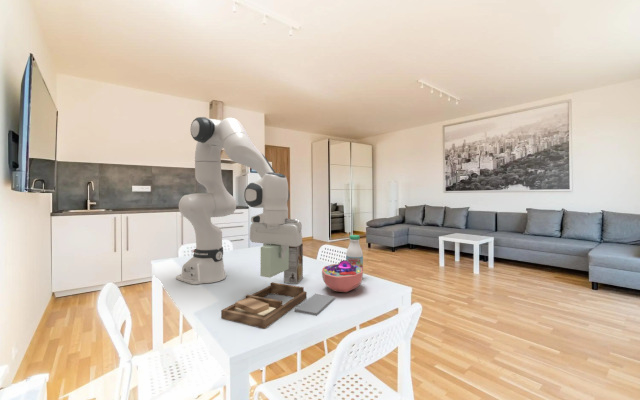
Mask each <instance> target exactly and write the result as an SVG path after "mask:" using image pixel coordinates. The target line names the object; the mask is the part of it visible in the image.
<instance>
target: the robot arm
mask: <svg viewBox="0 0 640 400" xmlns="http://www.w3.org/2000/svg"><path fill="white" fill-rule="evenodd" d="M190 135H191V137H192V139H193V140H194V141H196V146H195V154H194V178H195V180H196V182H197V183H199V184H200V185H201V186H203V187H204V188H205V189H206V192H207V193H205V192H202V193H195V192H194V193H190V194H185V195H183V196H182V197H181V198H180V200H179V202H178V211H179V212H180V214H181V215H182V216H183V218H185V219H187V220H188V221H189V223H191V225H192V226H193V230H194V233H195V246H196V247H195V248H194V249H191V252H192V253H193V254H192V257H191V258H189V260H187V261H186V262H184V263H183V265H182V268H181V274H178V275H177V276H175V279H176V280H178V281H181V282H184V283H187V284H189V285H193V286H194V285H200V284H211V283H217V282H220V281H222V280H225V279H226V278H227V275H226V270H225V265H224V258H223V257H224V256H223V255H224V247H223V232H222V229H221V228H220V227H219V226H217V225H215V224H213V222H212V220H211V218H220V217H222V218H223V217H227V216H230V215H233V213H234V212H235V211H236V210H237V209H236V208H237V199H235V197H234V196H233V195H232V194H231V193H229V192H228V190H227V188H226V187H225V185H224V181H223V177H222V159H221V158H222V157H221V156H222V155H221V151H222V150H224V152H225V154H226V155H227V157H228V158H229V159H230V160H231V161H232V162H234V163H237V164H238V165H242V166H245V167H247V168H250V169H252V170H254V171H255V172H256V173H257V174H258V175H259V177H260V179H258V180H256V181H254V182H249V184H247V186H245V187H246V188H245V189H244V200H245V203H246V204H247V205H248V206H249V207H250V208H254V209H262V213H260V214H256V215H252V216H251V218H250V222H251V224H250V228H249V240H250V242H251V243H256V244H257V243H258V244H263V245H262V246H266V245H269V244H274V245H281V248H283V249H282V251H281V252H280V253H279V258H284V257H285V252H286V250H287V248H288V246H293V247H297V246H300V245H301V244H303V235H302V222H300V220H299V219H297V218H296V219H294V218H293V219H292V218H289V207H288V201H289V200H290V197H291V196H290V195H291V194H290V190H289V184H288V179H287V176H286V175H284V174H283V173H279V172H278V173H277V172H276V171H275V169H274V168H273V167H272V165H271V163H270V161H268V158H267V157H266V156H265V155H264V154H263V153H262V152H261V151H260V150H259V149H258V148H257V147H256V146H255V144H254V143H253V141H252V140H251V138H250V135H249V134H248V132H247V130H246V128H245V127H244V125H243V124H242V123H241V121H239V120H238V119H236V118H234V117H226V118H224V119H214V118H208V117H205V116H202V117H201V116H200V117H196V118H194V119H193V121H192V122H191V124H190Z"/></svg>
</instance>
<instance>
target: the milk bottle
mask: <svg viewBox="0 0 640 400" xmlns="http://www.w3.org/2000/svg"><path fill="white" fill-rule="evenodd" d="M360 239H361V237H360V235H358V234H350V235H349V244H348V247H347V250H346V252H345V255H346V256H345V260H347V261H349V262H350V263H351V265H357V266H360V267H362V271H363V272H364V255H363V254H364V253H363V249H362V247H361V244H360ZM363 279H364V274H363V275H362V280H363Z"/></svg>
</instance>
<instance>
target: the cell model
mask: <svg viewBox="0 0 640 400" xmlns="http://www.w3.org/2000/svg"><path fill="white" fill-rule="evenodd" d="M362 275H363V276H364V270H363V271H362V267H360V266H357V265H351V263H350V262H349V261H347V260H346V259H343V260H340V261H339V263H337V264H336V263H335V264H332V263H331V264H330V265H329V264H328V265H326V266H323V268H322V269H321V277H322V280H323V283H324V285H325V286H327V287H328V288H329V289H331V290H332V291H334V292H342V293H348V292H350V291H352V290H354V289H357V288H358V287H359V286H360V285H361V284H362V282H363V279H362Z"/></svg>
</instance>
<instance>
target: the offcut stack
mask: <svg viewBox="0 0 640 400" xmlns="http://www.w3.org/2000/svg"><path fill="white" fill-rule="evenodd" d="M234 304H235V307H236V308H235V311H236V312H241V313H245V314H250V315H254V316H259V317H263V318H264V317H266V316H267V315H269V314H270V313H272V312H273V311H275V310H276V308H273V307H269V304H268V303H265V302H262V301H259V300H256V299H253V298H250V297H249V298H246V299H244V298H243V299H241V300H238V301H235V303H234Z"/></svg>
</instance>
